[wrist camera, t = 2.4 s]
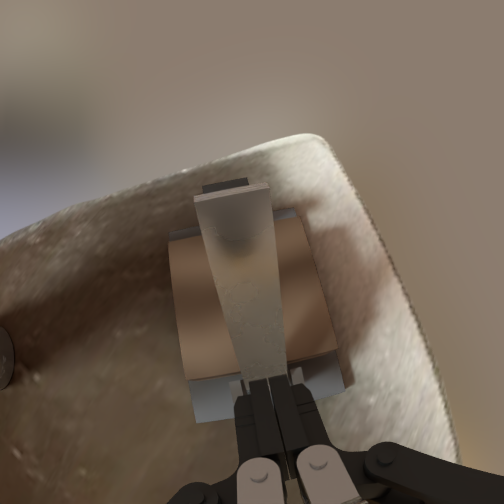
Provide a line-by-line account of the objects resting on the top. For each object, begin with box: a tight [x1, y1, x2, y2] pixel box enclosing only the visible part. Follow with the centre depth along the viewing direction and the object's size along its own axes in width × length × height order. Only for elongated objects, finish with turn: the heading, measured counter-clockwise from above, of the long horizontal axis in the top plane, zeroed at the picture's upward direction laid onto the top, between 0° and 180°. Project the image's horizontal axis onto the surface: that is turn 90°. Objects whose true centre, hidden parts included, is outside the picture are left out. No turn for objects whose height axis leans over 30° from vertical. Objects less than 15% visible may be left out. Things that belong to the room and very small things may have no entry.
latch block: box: [168, 178, 345, 423], centre depth 26 cm, size 20×14×9 cm
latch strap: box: [194, 182, 288, 394], centre depth 17 cm, size 16×3×1 cm
